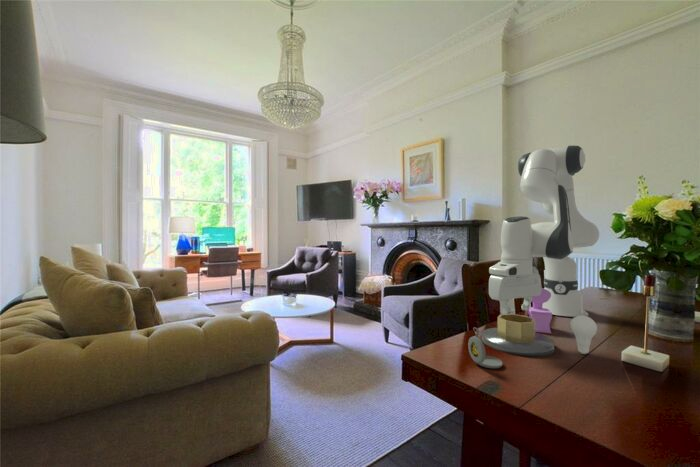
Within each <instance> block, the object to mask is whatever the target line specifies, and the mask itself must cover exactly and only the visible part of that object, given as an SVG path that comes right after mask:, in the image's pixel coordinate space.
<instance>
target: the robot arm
mask: <svg viewBox="0 0 700 467" xmlns="http://www.w3.org/2000/svg"><path fill="white" fill-rule="evenodd" d="M585 162H586V154H585V151H584V150H583V148H582V147H581V146H580V145H568V146H557V147H556V146H555V147H549V148H539V149H536V150H534V151H532V152H527V153H525V154H523V155H521V157H520V158H519V160H518V163H517V170H518V174H519V176H520V183H519V189H520V191H521V193H522V194H523V195H524V197H525V198H527V199H529V200H531V201H533V202H535V203H540V204H542V208H543V210H544V211H545V212H547V214H550V215H552V216H553V221H542V222H535V223H532V224H531V218H530V217H528V216H520V215H519V216H512V217H507V218H505V219H503V221H502V224H501V230H500V248H501V255H500V261H498V262H497V263H495V264H494V265H492V266H490V267H489V268H488V273H489V274H490V276H489V279H488V295H489V298H491V299H492V300H495V301H499V303H500V304H499V305H500V306H501V308H502V314H512V313H511V312H512V311H511V310H512V308H511V307H509V302H510V301H509V300H514V299H522V298H523V303H522V304H521V305H520V306H521V311H524V312H525V311H526V312H528V311H527V310H529V309H530V307H531V306H530V305H531V303H532V302H531V301H532V296H538V295H540V294H541V292H542V288H543V287H542V279H541V275H540V273H539V270H538V268H536V266H533V258H542V259H543V262H544V274H545V275H544V278H543V286H544V289H546V290H548V291H549V292H550V293H551V297H550V299H549V300H548V301H547V302H545V303H543V305H542V308H547V309H548V310H549V311H551V312H552V316H553V315H555V316H560V317H570V318H571V317H572V318H574V317H576V316H587V317H589V313H588V312H587V311H586V310H584V309H583V307H584V306H583V295H582V293H580V292H579V291H578V289H579V283H578V282H579V281H578V280H577V263H576V261H575V260H574V259H573V258H571V257H569V256H570V255H571V254H572V253H573V251H574V249H575V248H577V249H579V248H587V247H593V246H594V245H595V244H597V242H598V241H599V239H600V231H599V228H598V227H597V225H595V223H593V222H591V221H589V220H588V219H586V218H585V217H584V216H583V215H582V214H581V213H580V211H579V210H578V207H577V204H576V198H575V188H574V187H575V185H574V179H573V176H575V175H576V173H580V171H582V169H583V168H584V165H585Z"/></svg>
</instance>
